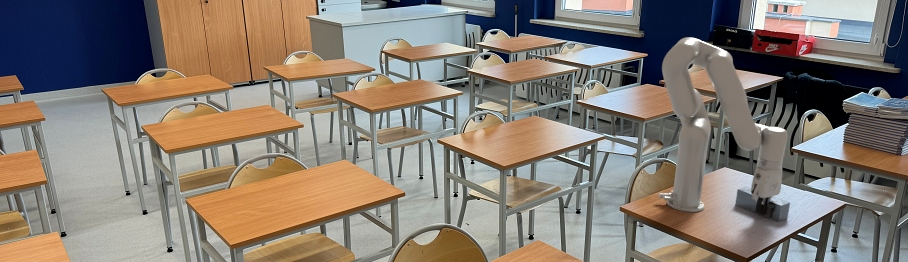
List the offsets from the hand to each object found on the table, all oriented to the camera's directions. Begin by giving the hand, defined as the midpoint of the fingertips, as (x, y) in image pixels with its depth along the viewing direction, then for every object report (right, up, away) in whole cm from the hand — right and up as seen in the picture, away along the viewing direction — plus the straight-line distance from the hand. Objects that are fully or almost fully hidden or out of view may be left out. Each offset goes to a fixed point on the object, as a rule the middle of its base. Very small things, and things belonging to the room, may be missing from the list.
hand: (760, 213), depth 223 cm
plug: (+6, -1, +4) cm, 8 cm away
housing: (+3, 0, +6) cm, 6 cm away
